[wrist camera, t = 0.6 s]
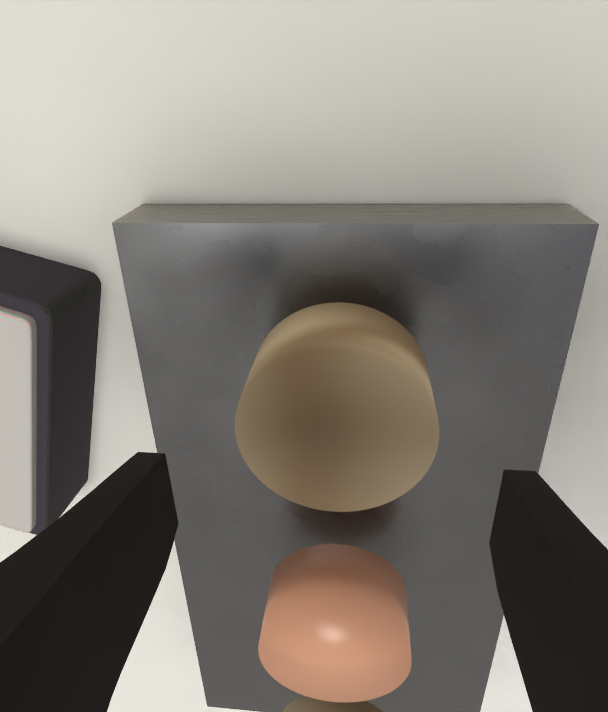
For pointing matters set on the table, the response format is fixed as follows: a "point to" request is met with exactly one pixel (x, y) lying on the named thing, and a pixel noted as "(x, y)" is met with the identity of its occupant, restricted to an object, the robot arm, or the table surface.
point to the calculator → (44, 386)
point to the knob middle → (336, 624)
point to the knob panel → (449, 386)
